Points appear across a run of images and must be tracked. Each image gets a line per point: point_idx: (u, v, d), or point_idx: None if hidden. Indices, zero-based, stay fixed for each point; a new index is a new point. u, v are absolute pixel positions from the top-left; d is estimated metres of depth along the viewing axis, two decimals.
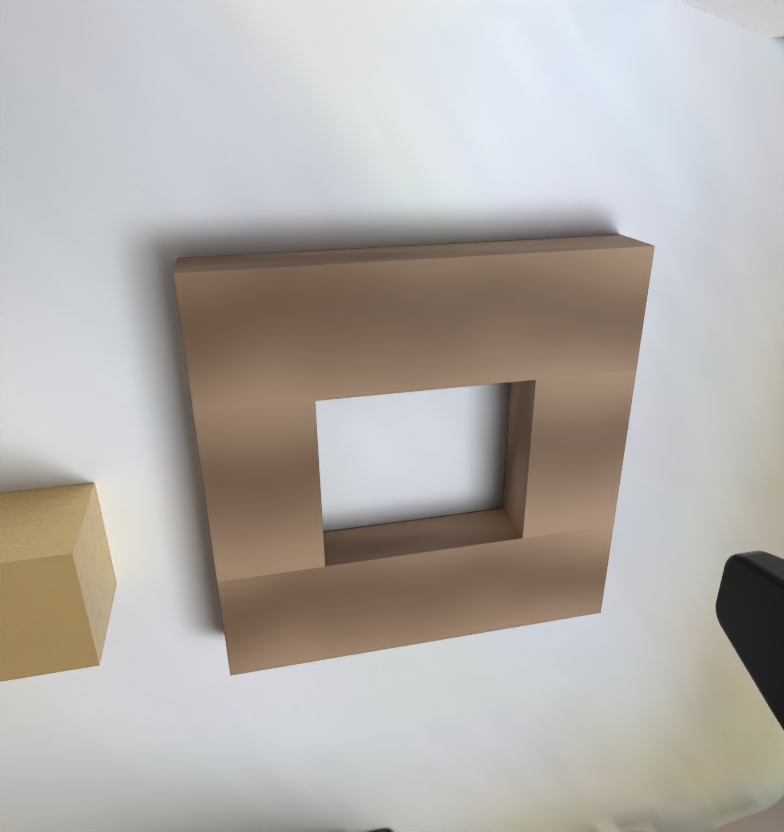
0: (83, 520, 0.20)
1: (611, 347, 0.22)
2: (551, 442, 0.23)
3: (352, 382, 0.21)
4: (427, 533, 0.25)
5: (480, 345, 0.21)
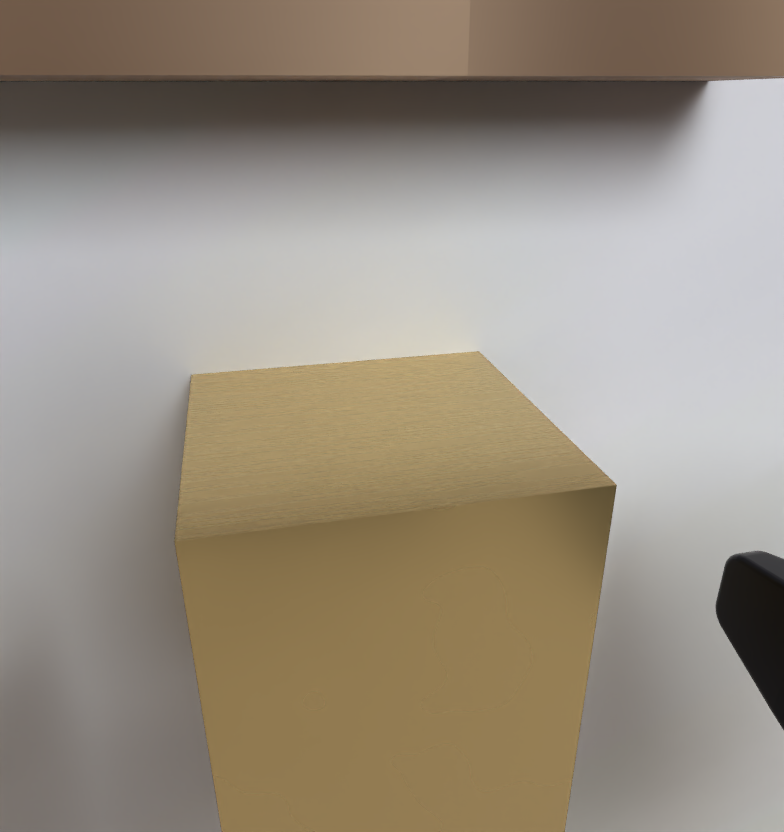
0: (187, 448, 0.07)
1: None
2: None
3: None
4: None
5: None
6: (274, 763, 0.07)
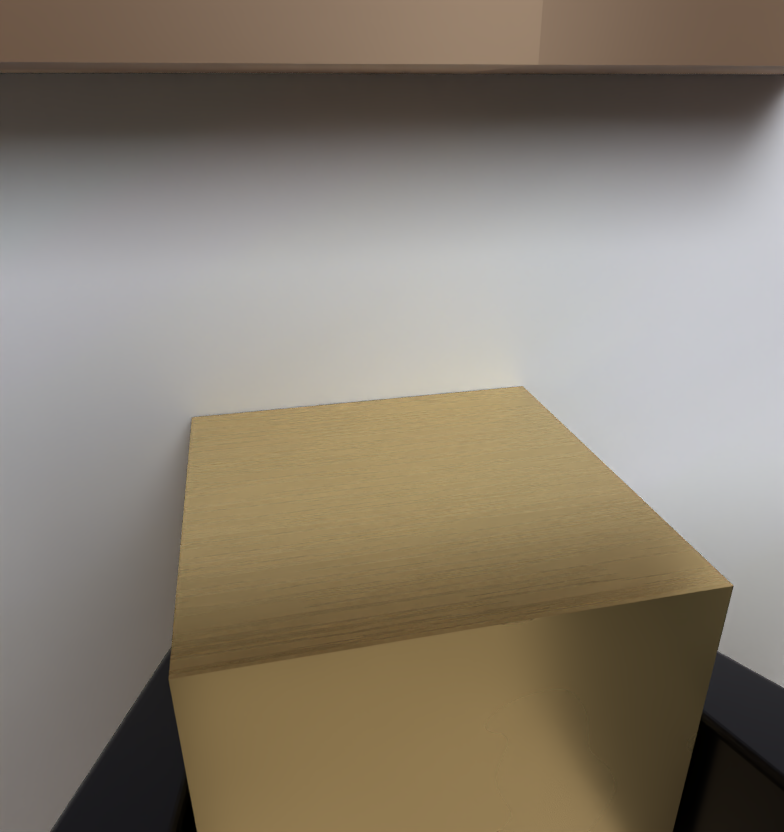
0: (185, 527, 0.06)
1: None
2: None
3: None
4: None
5: None
6: None
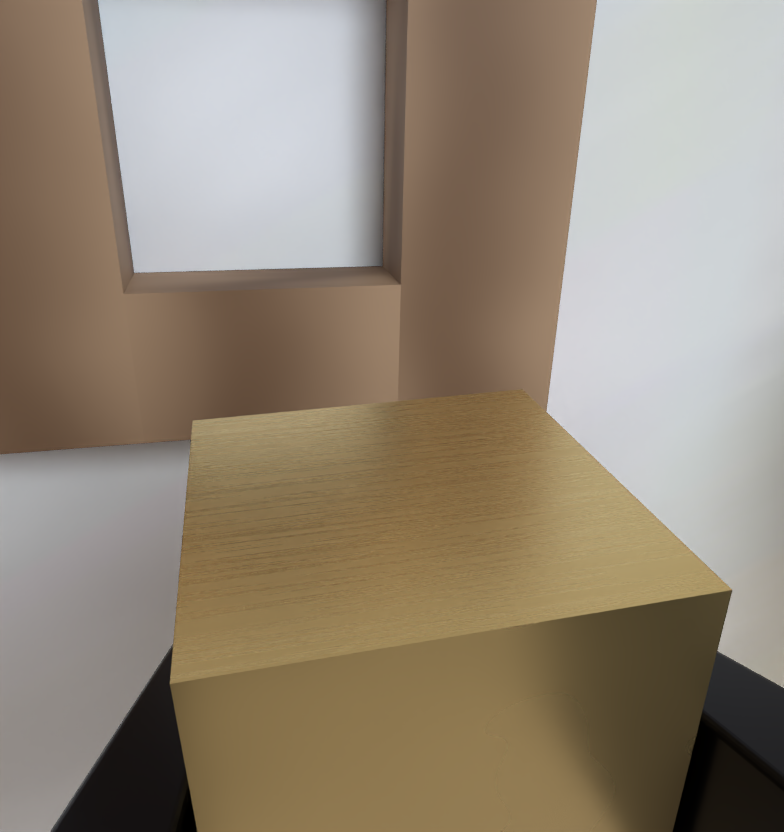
0: (186, 530, 0.06)
1: None
2: None
3: (90, 239, 0.14)
4: (393, 100, 0.15)
5: (4, 11, 0.12)
6: None
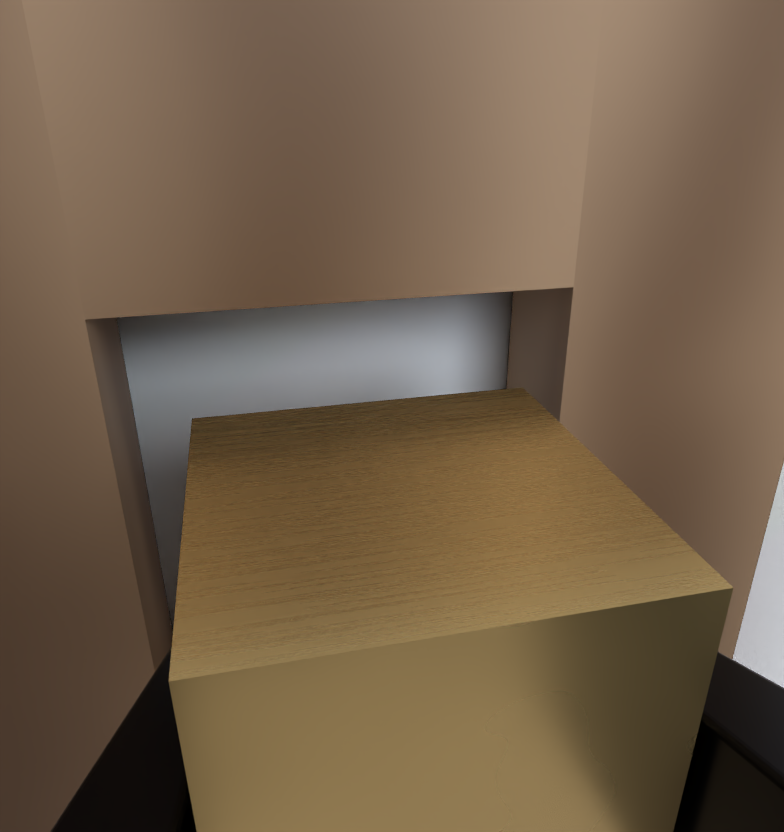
0: (185, 528, 0.06)
1: None
2: (285, 241, 0.08)
3: (127, 706, 0.10)
4: None
5: None
6: None
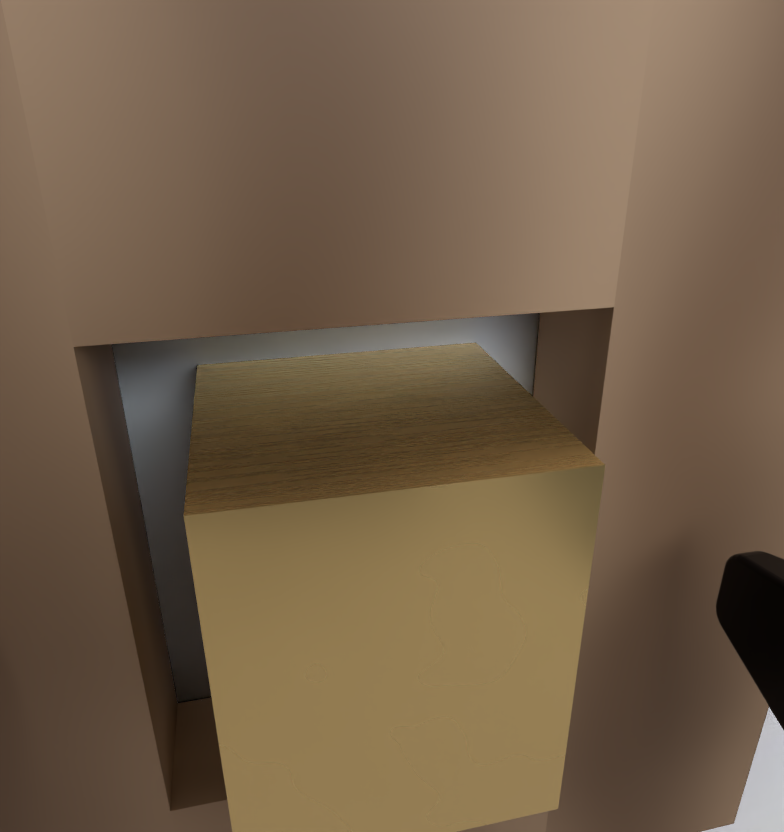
0: (193, 432, 0.08)
1: None
2: (297, 259, 0.07)
3: (122, 762, 0.09)
4: None
5: None
6: (277, 733, 0.07)
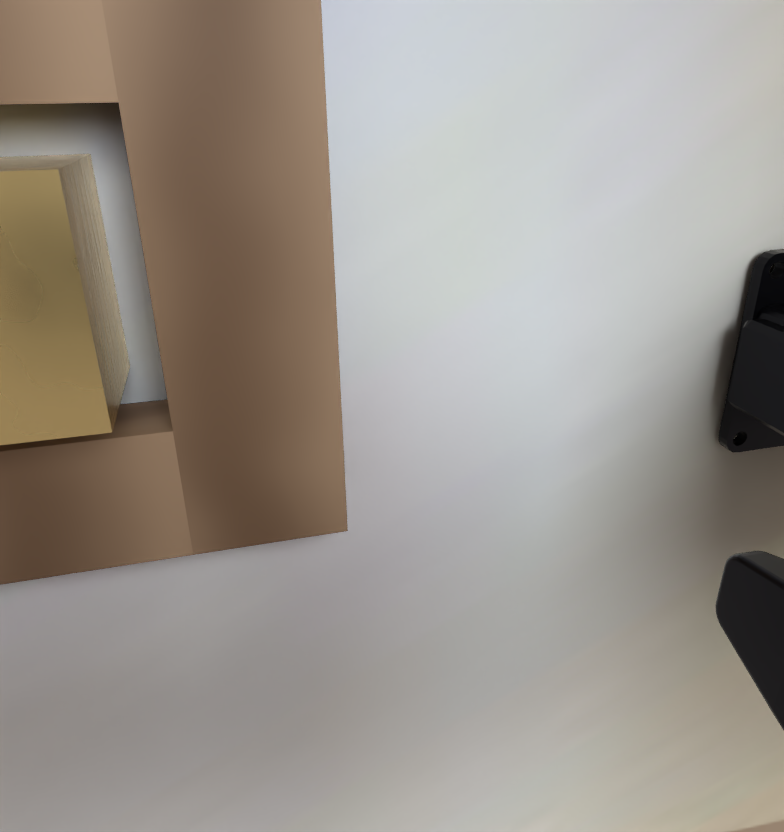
0: None
1: None
2: None
3: None
4: None
5: None
6: None
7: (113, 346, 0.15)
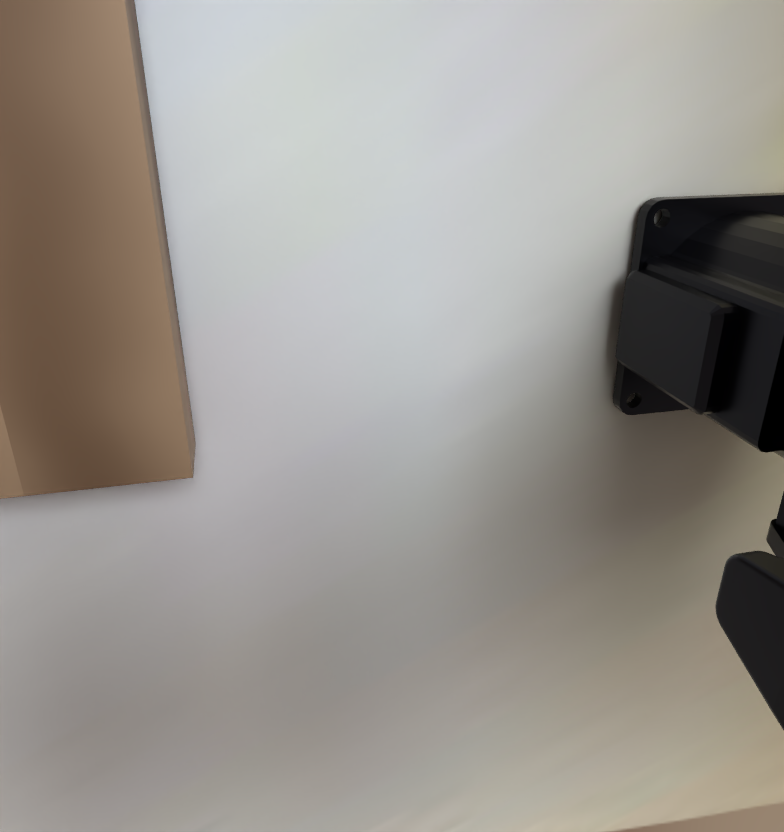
0: None
1: None
2: None
3: None
4: None
5: None
6: None
7: None
